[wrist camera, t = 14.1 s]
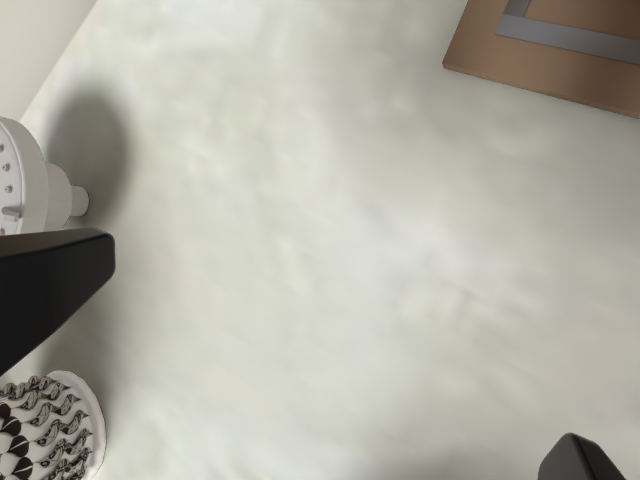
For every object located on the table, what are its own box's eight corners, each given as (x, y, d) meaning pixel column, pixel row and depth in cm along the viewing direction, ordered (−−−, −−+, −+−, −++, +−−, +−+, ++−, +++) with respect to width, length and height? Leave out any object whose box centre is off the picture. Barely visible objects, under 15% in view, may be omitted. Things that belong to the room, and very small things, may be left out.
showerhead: (-8, 304, 21) (-95, 245, 25) (113, 287, 28) (30, 242, 32) (22, 127, 20) (-75, 93, 24) (143, 154, 26) (51, 124, 30)
